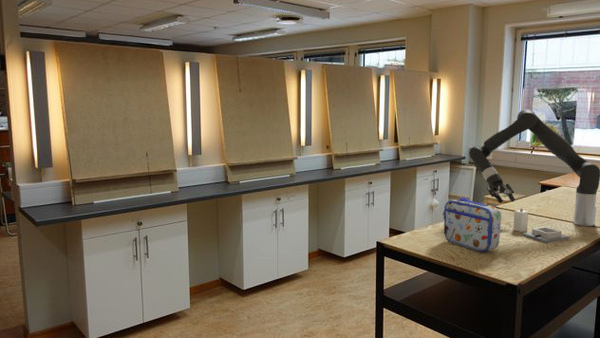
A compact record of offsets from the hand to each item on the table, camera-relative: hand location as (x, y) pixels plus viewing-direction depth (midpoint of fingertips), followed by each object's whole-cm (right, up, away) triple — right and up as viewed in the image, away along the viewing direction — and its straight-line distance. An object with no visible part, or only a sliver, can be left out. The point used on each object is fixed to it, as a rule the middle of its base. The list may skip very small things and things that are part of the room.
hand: (507, 201), depth 244 cm
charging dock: (+10, -16, -19) cm, 27 cm away
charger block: (+4, -14, -6) cm, 16 cm away
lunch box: (-32, -18, -31) cm, 49 cm away
